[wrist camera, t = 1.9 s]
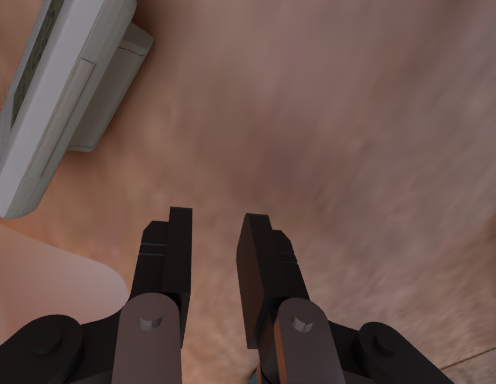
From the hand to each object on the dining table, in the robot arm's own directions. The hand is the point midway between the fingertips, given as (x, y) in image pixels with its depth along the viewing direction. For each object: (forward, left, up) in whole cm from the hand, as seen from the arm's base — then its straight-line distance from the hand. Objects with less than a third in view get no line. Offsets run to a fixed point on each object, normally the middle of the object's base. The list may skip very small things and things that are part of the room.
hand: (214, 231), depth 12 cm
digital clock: (+10, 0, -19) cm, 22 cm away
